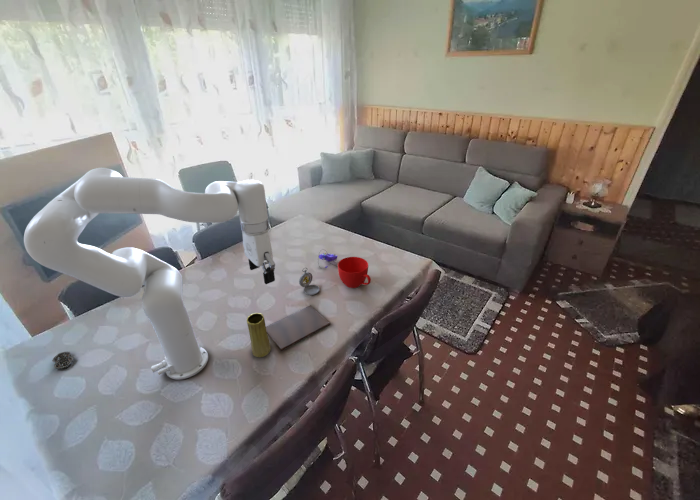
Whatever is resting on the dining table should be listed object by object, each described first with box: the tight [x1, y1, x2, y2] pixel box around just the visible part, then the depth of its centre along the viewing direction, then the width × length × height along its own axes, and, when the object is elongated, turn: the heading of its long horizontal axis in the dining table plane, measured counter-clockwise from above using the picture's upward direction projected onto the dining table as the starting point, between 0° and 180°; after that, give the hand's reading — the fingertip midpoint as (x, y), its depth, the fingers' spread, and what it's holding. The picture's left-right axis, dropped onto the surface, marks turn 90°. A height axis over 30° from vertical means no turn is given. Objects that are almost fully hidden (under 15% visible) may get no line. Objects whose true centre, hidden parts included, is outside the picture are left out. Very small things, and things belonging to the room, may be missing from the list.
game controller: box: [317, 248, 338, 269], centre depth 154 cm, size 10×8×10 cm
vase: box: [246, 312, 272, 358], centre depth 105 cm, size 6×6×14 cm
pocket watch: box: [298, 267, 320, 296], centre depth 135 cm, size 8×8×10 cm
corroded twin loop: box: [51, 351, 74, 370], centre depth 104 cm, size 5×8×1 cm, turn 49°
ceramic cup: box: [337, 256, 372, 289], centre depth 137 cm, size 13×17×10 cm
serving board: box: [266, 304, 330, 352], centre depth 118 cm, size 20×13×1 cm, turn 129°
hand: (262, 275), depth 99 cm, fingers open, 9 cm apart
